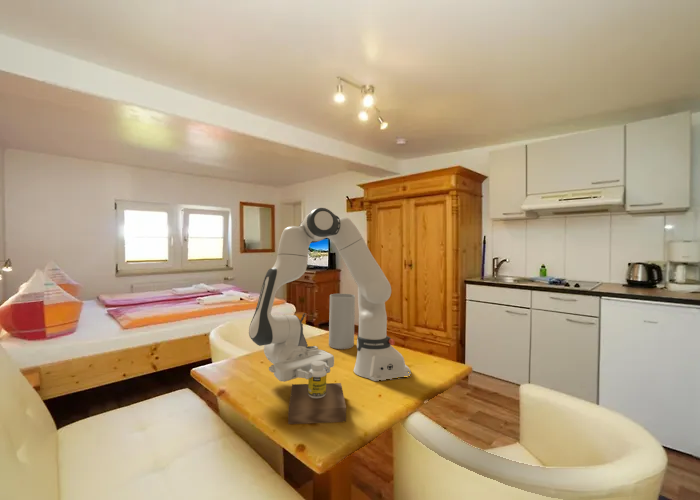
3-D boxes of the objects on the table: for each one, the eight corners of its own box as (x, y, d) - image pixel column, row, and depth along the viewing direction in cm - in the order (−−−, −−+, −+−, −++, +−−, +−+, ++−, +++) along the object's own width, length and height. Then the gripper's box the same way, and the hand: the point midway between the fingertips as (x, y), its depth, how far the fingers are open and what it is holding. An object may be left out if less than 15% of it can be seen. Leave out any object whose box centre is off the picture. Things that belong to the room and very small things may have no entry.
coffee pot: (303, 356, 140) (304, 323, 140) (278, 354, 142) (279, 321, 142) (315, 342, 162) (316, 313, 161) (293, 341, 163) (294, 312, 163)
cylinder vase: (357, 343, 161) (358, 294, 161) (348, 351, 149) (349, 298, 149) (334, 340, 165) (335, 293, 165) (324, 347, 154) (325, 296, 153)
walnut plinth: (340, 395, 105) (341, 383, 105) (345, 421, 89) (346, 407, 89) (291, 396, 103) (292, 384, 103) (288, 424, 87) (288, 409, 87)
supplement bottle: (310, 400, 93) (311, 367, 92) (306, 392, 98) (306, 360, 97) (328, 397, 95) (329, 364, 95) (322, 389, 100) (323, 358, 100)
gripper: (266, 357, 99) (289, 371, 88) (319, 345, 112) (344, 355, 102) (265, 377, 99) (289, 393, 89) (319, 362, 112) (344, 375, 102)
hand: (319, 373), depth 95 cm, fingers open, 5 cm apart
